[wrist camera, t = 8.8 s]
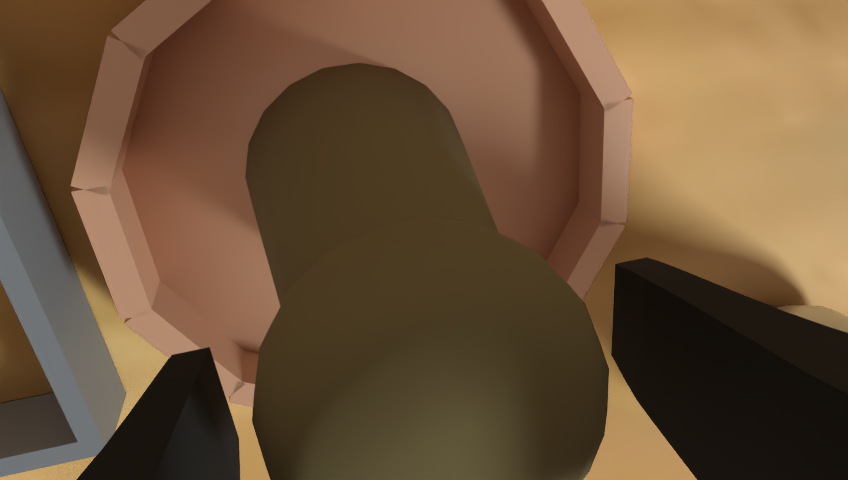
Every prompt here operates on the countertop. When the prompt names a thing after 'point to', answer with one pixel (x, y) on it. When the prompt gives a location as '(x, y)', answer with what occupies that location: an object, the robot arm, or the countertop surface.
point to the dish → (266, 79)
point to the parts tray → (49, 328)
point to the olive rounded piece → (407, 301)
